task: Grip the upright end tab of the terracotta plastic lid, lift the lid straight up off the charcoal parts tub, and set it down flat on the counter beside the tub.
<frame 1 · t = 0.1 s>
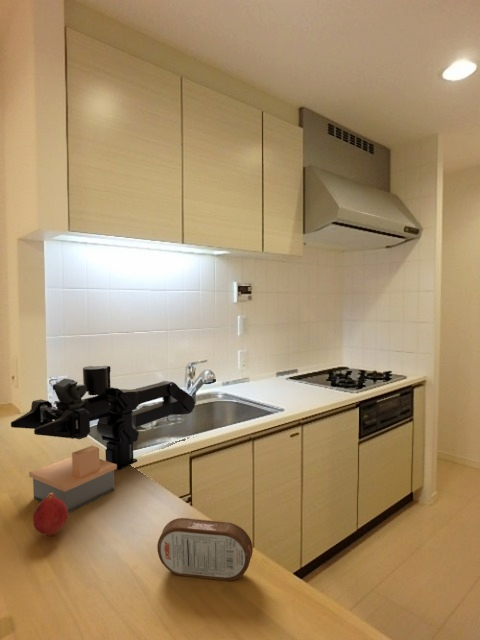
hand: (22, 428, 85), 17 cm above the countertop, tool horizontal, fingers open, 9 cm apart
lid: (74, 479, 90), point 3 cm above the countertop, touching tub
tub: (74, 494, 90), on the countertop
tin: (204, 576, 63), on the countertop
onion: (51, 536, 74), on the countertop
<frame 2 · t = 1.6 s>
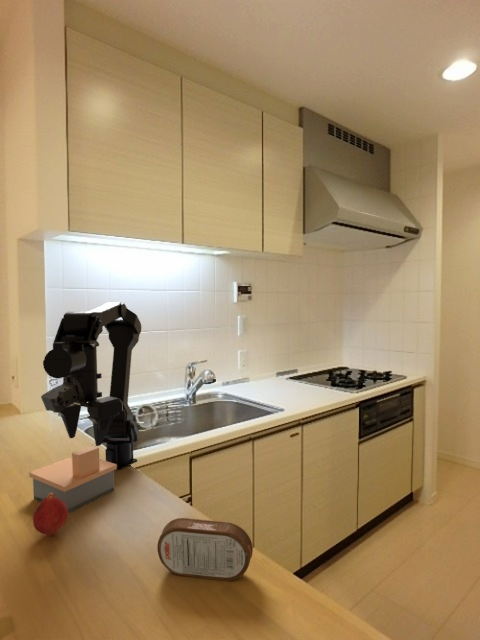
hand: (85, 441, 87), 13 cm above the countertop, tool pointing down, fingers open, 9 cm apart
nothing on the countertop moved.
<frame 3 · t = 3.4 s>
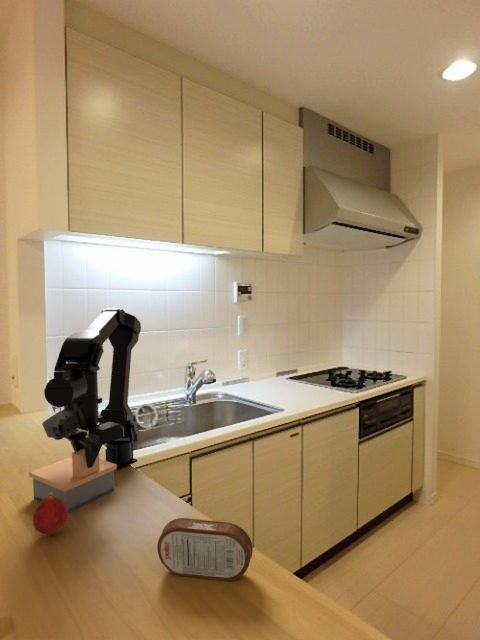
hand: (86, 466, 87), 8 cm above the countertop, tool pointing down, fingers closed on lid, 2 cm apart
lid: (74, 479, 90), point 3 cm above the countertop, touching gripper, tub
everything else where it was.
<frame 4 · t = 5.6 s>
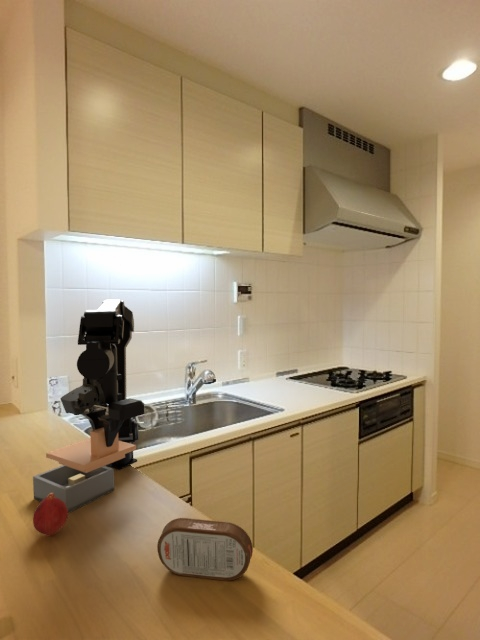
hand: (105, 445, 84), 13 cm above the countertop, tool pointing down, fingers closed on lid, 2 cm apart
lid: (92, 460, 86), point 9 cm above the countertop, touching gripper
everything else where it was.
when the fingers open (6 cm above the countertop, at t = 7.9 s): lid drops 1 cm, on the countertop.
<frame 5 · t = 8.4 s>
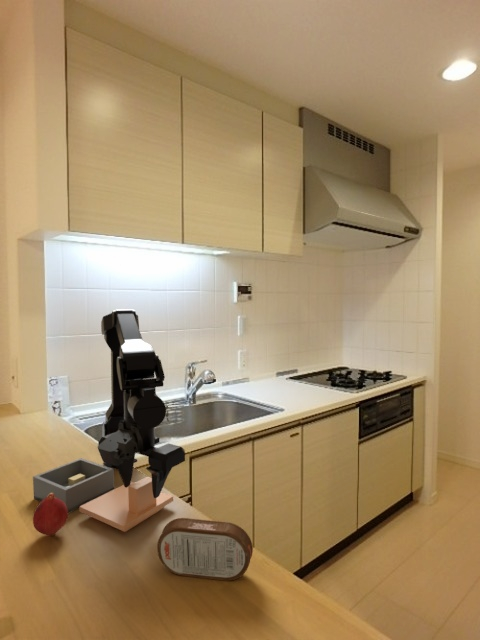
hand: (141, 491, 79), 5 cm above the countertop, tool pointing down, fingers open, 8 cm apart
lid: (127, 513, 82), on the countertop
everything else where it was.
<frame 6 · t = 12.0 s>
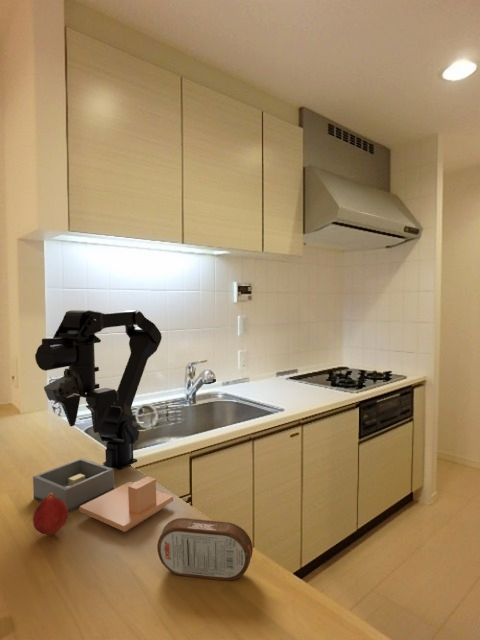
hand: (84, 429, 95), 13 cm above the countertop, tool pointing down, fingers open, 9 cm apart
nothing on the countertop moved.
at the end: lid inside the target area (0.7 cm from its centre), on the countertop; lid tilted 0°; lid touching countertop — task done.
